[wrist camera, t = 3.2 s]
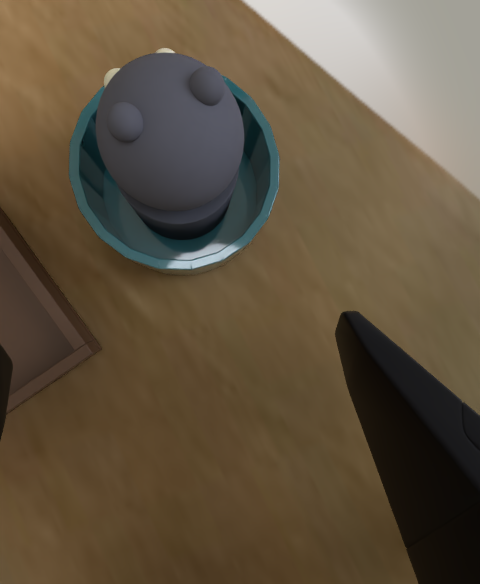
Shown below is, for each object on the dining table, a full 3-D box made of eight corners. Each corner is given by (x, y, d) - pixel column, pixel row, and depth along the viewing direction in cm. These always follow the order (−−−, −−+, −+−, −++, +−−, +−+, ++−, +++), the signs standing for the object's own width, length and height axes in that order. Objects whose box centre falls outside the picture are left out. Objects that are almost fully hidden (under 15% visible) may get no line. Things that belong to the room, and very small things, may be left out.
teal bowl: (125, 295, 23) (104, 295, 18) (76, 134, 22) (41, 88, 17) (281, 249, 24) (303, 237, 19) (236, 96, 23) (246, 42, 18)
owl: (247, 214, 23) (289, 142, 12) (159, 256, 22) (121, 220, 12) (203, 126, 23) (207, -27, 12) (113, 166, 22) (31, 43, 11)
